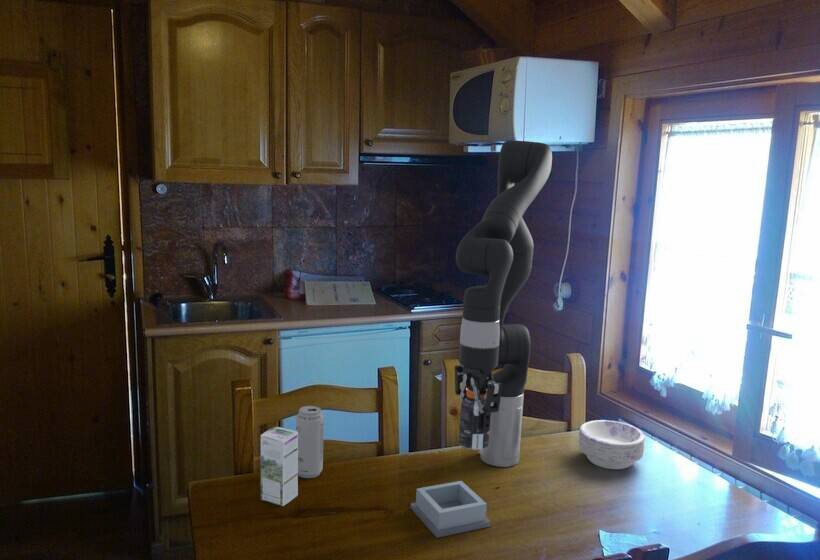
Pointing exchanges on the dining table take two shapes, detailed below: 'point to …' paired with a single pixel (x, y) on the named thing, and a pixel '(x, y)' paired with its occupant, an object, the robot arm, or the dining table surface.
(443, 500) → the holder
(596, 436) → the paper bowls
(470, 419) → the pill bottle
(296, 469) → the syrup box
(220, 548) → the dining table surface
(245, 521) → the dining table surface
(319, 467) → the energy drink can
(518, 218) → the robot arm
